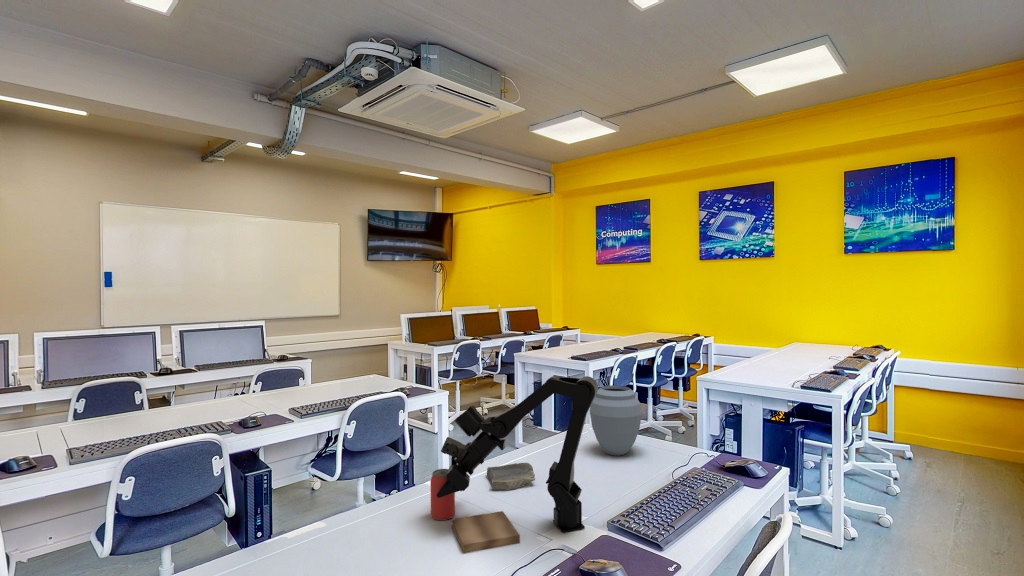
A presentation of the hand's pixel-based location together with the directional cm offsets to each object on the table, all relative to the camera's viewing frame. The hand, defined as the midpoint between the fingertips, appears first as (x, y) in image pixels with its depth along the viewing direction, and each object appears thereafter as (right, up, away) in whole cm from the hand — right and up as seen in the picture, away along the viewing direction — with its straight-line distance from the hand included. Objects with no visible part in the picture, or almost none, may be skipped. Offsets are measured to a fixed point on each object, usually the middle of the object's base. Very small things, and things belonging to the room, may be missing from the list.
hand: (439, 489), depth 137 cm
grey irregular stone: (+20, -8, +25) cm, 33 cm away
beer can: (+1, -7, 0) cm, 7 cm away
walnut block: (+13, -8, -11) cm, 18 cm away
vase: (+59, -7, +52) cm, 79 cm away
